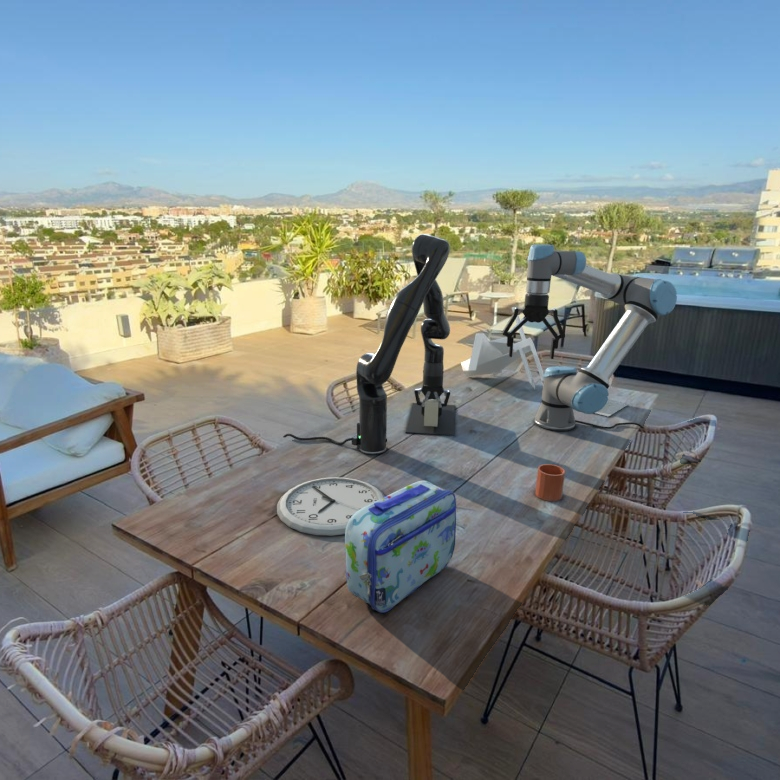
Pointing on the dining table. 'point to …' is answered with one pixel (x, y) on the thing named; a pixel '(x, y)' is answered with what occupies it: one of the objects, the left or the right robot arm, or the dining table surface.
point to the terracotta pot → (550, 482)
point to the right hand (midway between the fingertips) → (530, 357)
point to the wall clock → (325, 504)
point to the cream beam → (431, 413)
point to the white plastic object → (499, 355)
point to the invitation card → (610, 408)
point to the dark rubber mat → (443, 427)
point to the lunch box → (399, 543)
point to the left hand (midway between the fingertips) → (431, 415)
